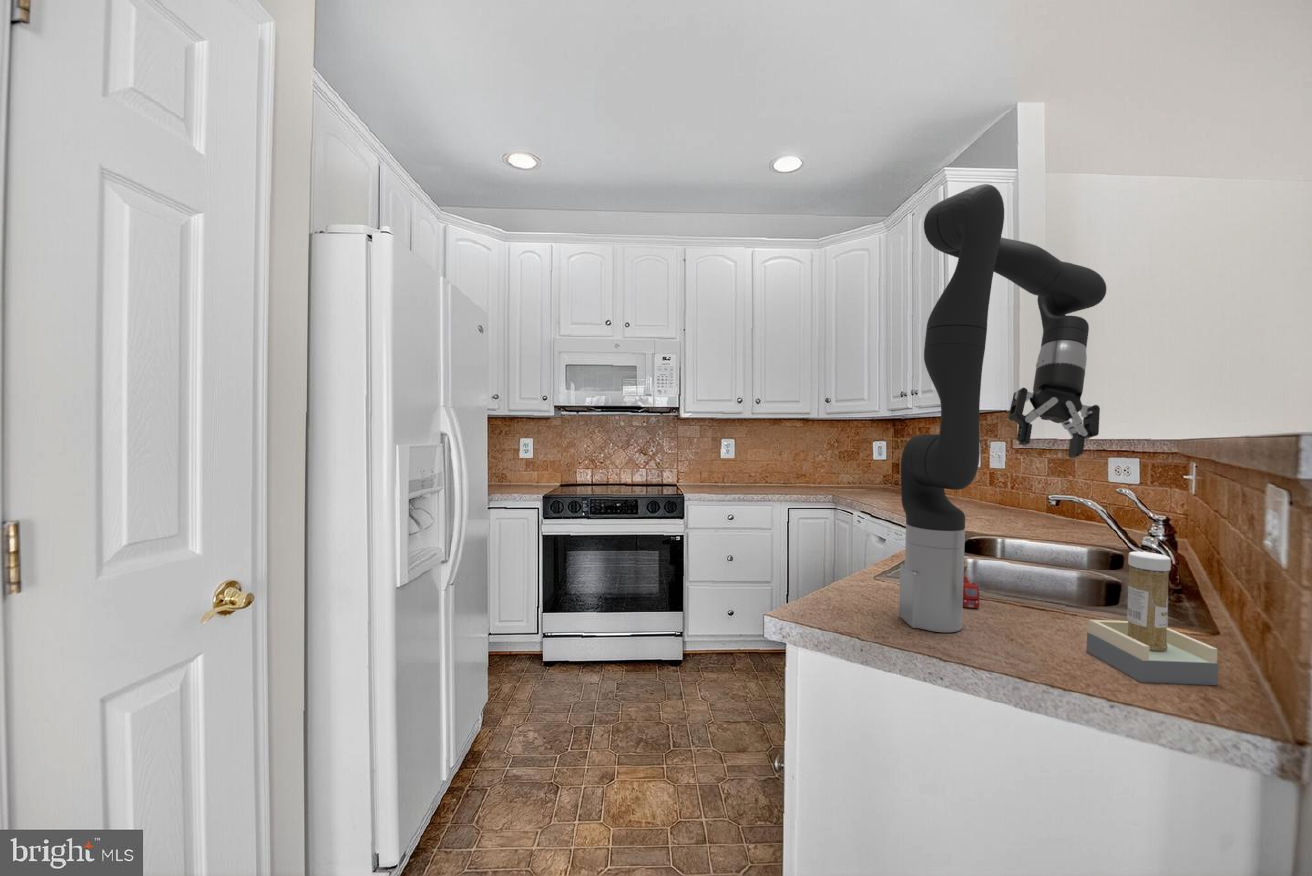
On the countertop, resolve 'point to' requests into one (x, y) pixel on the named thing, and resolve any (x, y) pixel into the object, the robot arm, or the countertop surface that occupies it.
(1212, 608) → the countertop surface
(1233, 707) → the countertop surface
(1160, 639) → the sprinkles bottle
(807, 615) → the countertop surface
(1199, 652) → the shallow square tray
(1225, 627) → the countertop surface
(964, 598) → the toy fire truck
